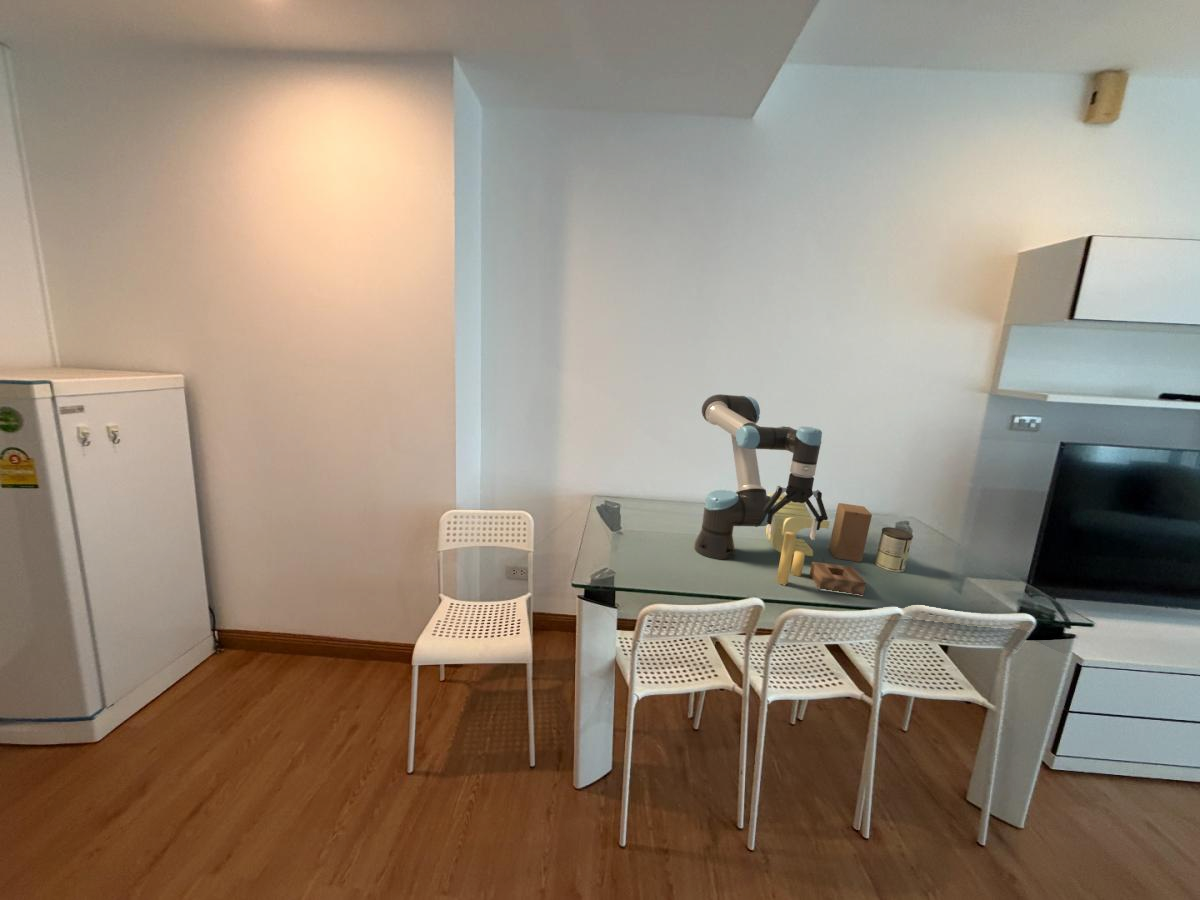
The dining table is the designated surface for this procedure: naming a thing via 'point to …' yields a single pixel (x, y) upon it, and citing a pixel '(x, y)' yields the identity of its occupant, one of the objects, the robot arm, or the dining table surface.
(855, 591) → the hole block
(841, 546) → the wooden block
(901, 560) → the coffee can
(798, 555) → the short pin
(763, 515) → the robot arm
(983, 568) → the dining table surface
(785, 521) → the slatted curved stool
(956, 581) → the dining table surface
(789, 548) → the long pin
